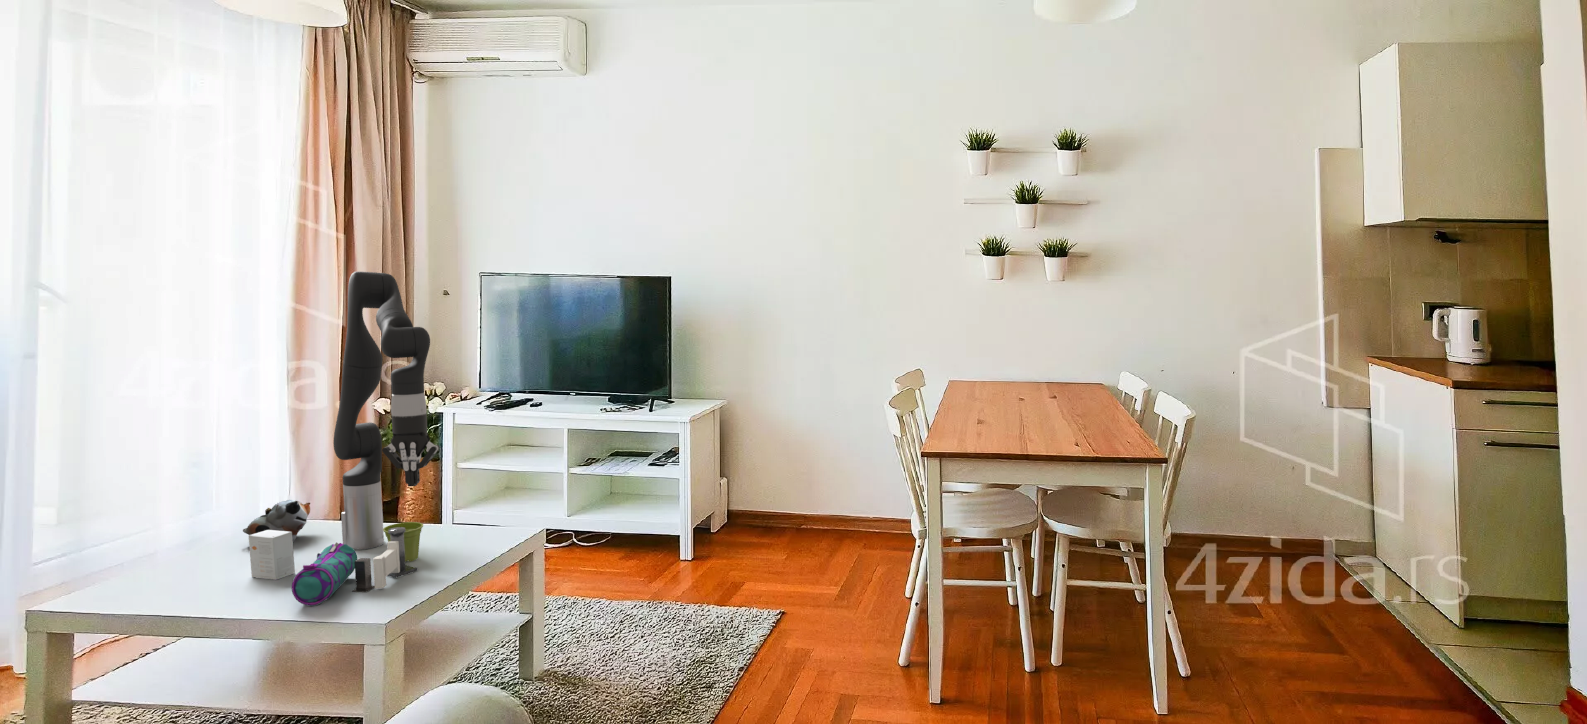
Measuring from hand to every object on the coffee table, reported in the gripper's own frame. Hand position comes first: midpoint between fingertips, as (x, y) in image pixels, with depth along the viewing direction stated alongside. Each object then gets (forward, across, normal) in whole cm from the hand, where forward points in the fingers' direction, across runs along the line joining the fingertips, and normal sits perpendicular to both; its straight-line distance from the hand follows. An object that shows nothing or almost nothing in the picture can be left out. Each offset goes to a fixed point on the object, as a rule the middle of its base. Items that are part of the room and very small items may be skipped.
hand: (412, 485), depth 212 cm
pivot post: (+23, +7, -7) cm, 25 cm away
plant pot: (+23, +10, -18) cm, 31 cm away
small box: (+23, +37, -7) cm, 45 cm away
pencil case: (+23, +18, +6) cm, 30 cm away
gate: (+23, +7, +1) cm, 23 cm away
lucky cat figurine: (+23, +52, -39) cm, 69 cm away
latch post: (+23, +10, +5) cm, 26 cm away
